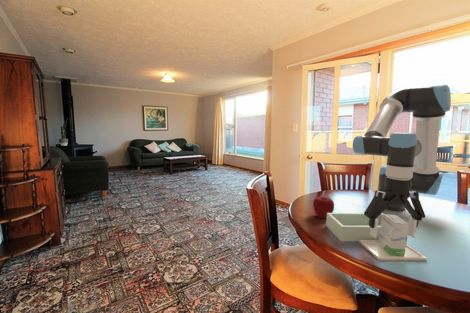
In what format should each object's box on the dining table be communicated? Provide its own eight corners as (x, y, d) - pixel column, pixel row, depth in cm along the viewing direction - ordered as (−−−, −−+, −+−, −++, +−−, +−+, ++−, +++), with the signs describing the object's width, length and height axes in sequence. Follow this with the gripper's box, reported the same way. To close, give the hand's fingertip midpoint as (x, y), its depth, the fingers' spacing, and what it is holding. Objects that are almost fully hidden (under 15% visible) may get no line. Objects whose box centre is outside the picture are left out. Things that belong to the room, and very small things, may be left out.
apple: (314, 211, 119) (315, 193, 117) (334, 215, 114) (335, 196, 113) (310, 218, 111) (311, 198, 109) (331, 222, 106) (333, 201, 104)
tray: (399, 242, 88) (400, 239, 88) (426, 261, 76) (426, 257, 76) (359, 242, 88) (359, 239, 87) (379, 261, 76) (379, 257, 76)
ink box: (377, 243, 86) (380, 213, 85) (392, 244, 86) (396, 214, 84) (389, 255, 78) (393, 222, 76) (406, 257, 77) (410, 223, 76)
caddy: (380, 225, 103) (382, 213, 102) (404, 241, 89) (406, 226, 88) (326, 225, 102) (326, 212, 102) (341, 241, 88) (342, 226, 88)
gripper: (424, 175, 82) (417, 231, 85) (356, 175, 82) (351, 231, 85) (444, 180, 75) (435, 241, 78) (369, 180, 74) (363, 241, 77)
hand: (392, 236), depth 81 cm, fingers open, 13 cm apart
